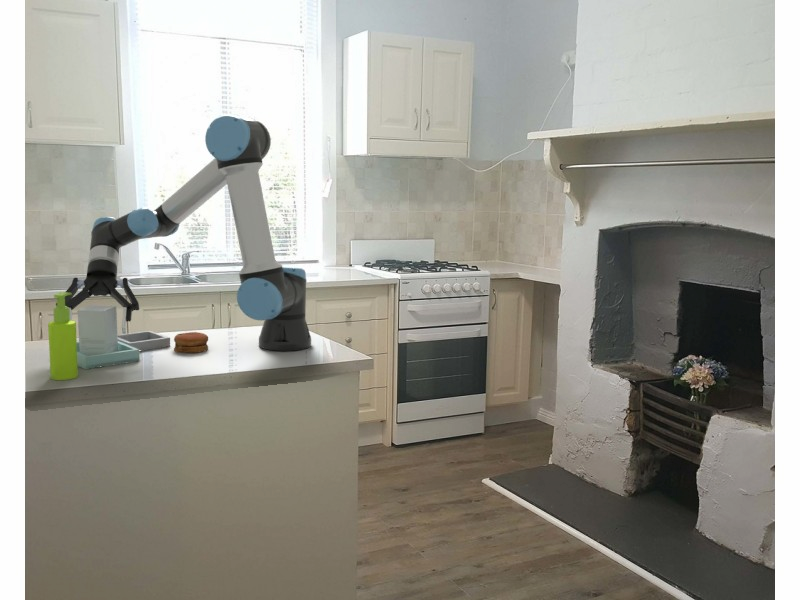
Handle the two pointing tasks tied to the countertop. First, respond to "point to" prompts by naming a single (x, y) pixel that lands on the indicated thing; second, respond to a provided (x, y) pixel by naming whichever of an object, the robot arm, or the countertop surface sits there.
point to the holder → (144, 340)
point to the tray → (108, 357)
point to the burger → (191, 342)
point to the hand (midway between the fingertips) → (95, 331)
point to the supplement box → (97, 330)
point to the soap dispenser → (62, 342)
